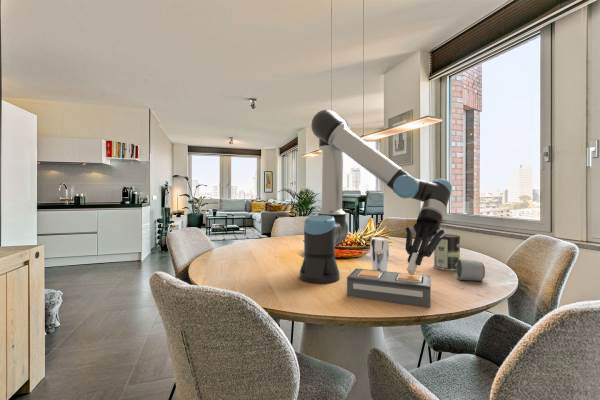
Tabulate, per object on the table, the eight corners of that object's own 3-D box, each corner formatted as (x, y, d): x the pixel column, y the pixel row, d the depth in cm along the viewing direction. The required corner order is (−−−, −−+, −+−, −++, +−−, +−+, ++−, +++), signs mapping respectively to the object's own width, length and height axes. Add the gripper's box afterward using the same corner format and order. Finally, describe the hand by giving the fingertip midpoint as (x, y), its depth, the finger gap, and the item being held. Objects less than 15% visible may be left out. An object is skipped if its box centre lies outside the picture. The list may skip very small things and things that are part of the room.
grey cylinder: (486, 283, 109) (486, 262, 109) (461, 282, 111) (461, 260, 111) (476, 276, 119) (476, 256, 119) (453, 275, 121) (453, 255, 121)
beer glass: (385, 281, 111) (386, 240, 111) (367, 278, 115) (367, 239, 115) (391, 277, 117) (391, 238, 117) (373, 274, 121) (373, 236, 121)
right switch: (396, 289, 92) (396, 278, 92) (398, 283, 98) (398, 272, 98) (421, 292, 89) (421, 280, 89) (421, 286, 96) (422, 274, 96)
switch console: (346, 296, 95) (346, 277, 95) (355, 285, 107) (356, 268, 106) (430, 307, 86) (430, 286, 86) (430, 294, 97) (430, 275, 97)
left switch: (356, 285, 97) (356, 274, 97) (361, 279, 103) (361, 269, 103) (379, 288, 94) (379, 276, 94) (382, 282, 100) (382, 271, 100)
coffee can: (459, 266, 135) (459, 234, 134) (460, 271, 125) (460, 237, 125) (433, 264, 139) (434, 233, 139) (433, 269, 130) (433, 236, 129)
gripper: (453, 223, 103) (435, 283, 91) (415, 221, 112) (394, 275, 100) (448, 208, 99) (428, 268, 87) (409, 207, 108) (386, 262, 96)
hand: (410, 272), depth 94 cm, fingers closed
